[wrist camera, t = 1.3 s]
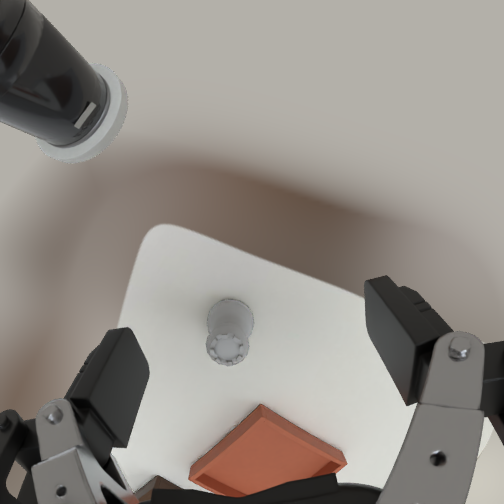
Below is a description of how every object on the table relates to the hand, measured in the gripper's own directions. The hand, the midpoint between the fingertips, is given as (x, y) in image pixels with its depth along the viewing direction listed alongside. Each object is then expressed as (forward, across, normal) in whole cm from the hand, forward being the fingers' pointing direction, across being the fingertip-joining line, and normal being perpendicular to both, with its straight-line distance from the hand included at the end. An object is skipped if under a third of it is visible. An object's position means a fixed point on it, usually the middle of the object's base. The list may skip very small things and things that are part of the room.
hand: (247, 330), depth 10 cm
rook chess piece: (+17, +4, +10) cm, 21 cm away
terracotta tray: (+12, +4, +29) cm, 31 cm away
